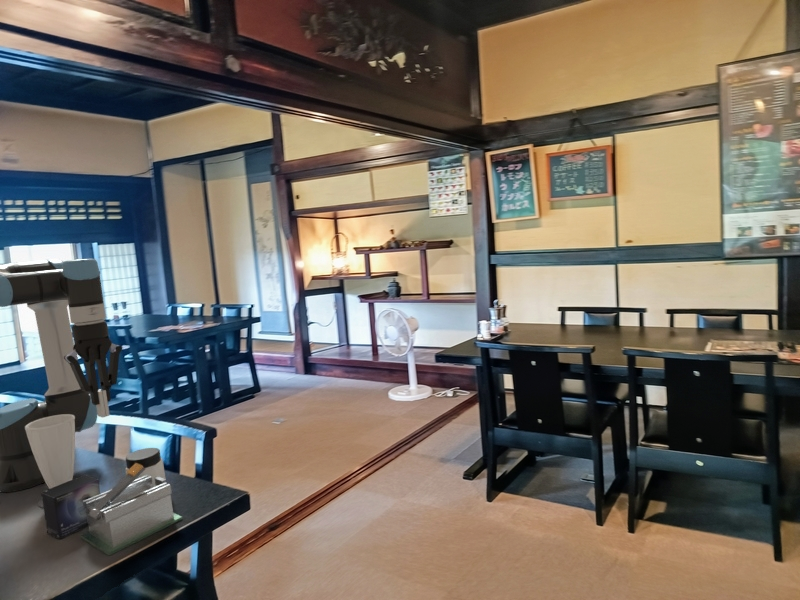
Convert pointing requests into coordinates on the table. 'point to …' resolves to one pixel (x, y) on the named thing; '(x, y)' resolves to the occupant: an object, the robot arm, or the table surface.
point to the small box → (68, 505)
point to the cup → (53, 448)
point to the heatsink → (131, 515)
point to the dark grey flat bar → (115, 491)
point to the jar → (147, 463)
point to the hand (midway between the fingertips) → (103, 415)
